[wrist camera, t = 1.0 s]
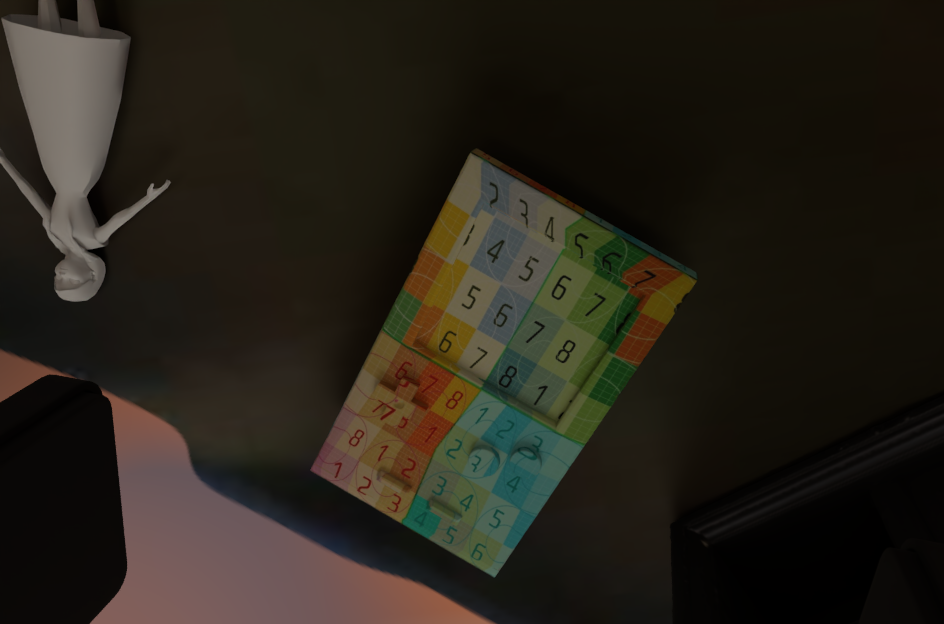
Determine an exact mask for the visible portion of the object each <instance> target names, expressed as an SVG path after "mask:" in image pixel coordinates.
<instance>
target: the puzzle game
mask: <svg viewBox="0 0 944 624" xmlns="http://www.w3.org/2000/svg"><path fill="white" fill-rule="evenodd" d="M697 280H698V277H697V273H696V272H695V271H693V270H691V269H689V268H687V267H686V266H684V265H682V264H680V263H679V262H677V261H675V260H673V259H672V258H670V257H668V256H666V255H664V254H663V253H661V252H659V251H657V250H656V249H654V248H652V247H650V246H649V245H647V244H645V243H643V242H641V241H640V240H638V239H636V238H634V237H633V236H631V235H629V234H627V233H625V232H624V231H622V230H620V229H618V228H617V227H615V226H613V225H611V224H610V223H608V222H606V221H604V220H602V219H601V218H599V217H597V216H595V215H594V214H592V213H590V212H588V211H587V210H585V209H583V208H581V207H579V206H578V205H576V204H574V203H572V202H571V201H569V200H567V199H565V198H563V197H562V196H560V195H558V194H556V193H555V192H553V191H551V190H549V189H548V188H546V187H544V186H542V185H540V184H539V183H537V182H535V181H533V180H532V179H530V178H528V177H526V176H525V175H523V174H521V173H519V172H517V171H516V170H514V169H512V168H510V167H509V166H507V165H505V164H503V163H501V162H500V161H498V160H496V159H494V158H493V157H491V156H489V155H487V154H486V153H484V152H482V151H480V150H478V149H477V148H475V149H474V150H472V151H471V152H470V154H469V156H468V158H467V160H466V162H465V164H464V166H463V168H462V170H461V172H460V174H459V176H458V178H457V180H456V182H455V184H454V186H453V188H452V190H451V192H450V194H449V196H448V198H447V200H446V202H445V204H444V206H443V208H442V210H441V212H440V214H439V216H438V218H437V220H436V222H435V223H434V225H433V227H432V229H431V231H430V233H429V235H428V237H427V239H426V241H425V243H424V245H423V247H422V249H421V251H420V253H419V255H418V257H417V259H416V261H415V263H414V265H413V267H412V269H411V271H410V273H409V275H408V277H407V279H406V281H405V283H404V285H403V287H402V289H401V291H400V293H399V295H398V297H397V299H396V301H395V303H394V305H393V307H392V309H391V311H390V313H389V315H388V317H387V319H386V321H385V323H384V325H383V327H382V329H381V331H380V333H379V335H378V337H377V339H376V341H375V343H374V345H373V347H372V349H371V351H370V353H369V354H368V356H367V358H366V360H365V362H364V364H363V366H362V368H361V370H360V372H359V374H358V376H357V378H356V380H355V382H354V384H353V386H352V388H351V390H350V392H349V394H348V396H347V398H346V400H345V402H344V404H343V406H342V408H341V410H340V412H339V414H338V416H337V418H336V420H335V422H334V424H333V426H332V428H331V430H330V432H329V434H328V436H327V438H326V440H325V442H324V444H323V446H322V448H321V450H320V452H319V454H318V456H317V458H316V460H315V462H314V464H313V466H312V468H311V470H310V471H312V472H313V473H315V474H317V475H318V476H320V477H322V478H324V479H325V480H327V481H329V482H330V483H332V484H334V485H336V486H337V487H339V488H341V489H342V490H344V491H346V492H348V493H349V494H351V495H353V496H354V497H356V498H358V499H360V500H361V501H363V502H365V503H366V504H368V505H370V506H372V507H373V508H375V509H377V510H379V511H380V512H382V513H384V514H385V515H387V516H389V517H391V518H392V519H394V520H396V521H397V522H399V523H401V524H403V525H404V526H406V527H408V528H409V529H411V530H413V531H415V532H416V533H418V534H420V535H421V536H423V537H425V538H427V539H428V540H430V541H432V542H434V543H435V544H437V545H439V546H440V547H442V548H444V549H446V550H447V551H449V552H451V553H452V554H454V555H456V556H458V557H459V558H461V559H463V560H464V561H466V562H468V563H470V564H471V565H473V566H475V567H476V568H478V569H480V570H482V571H483V572H485V573H487V574H489V575H490V576H492V577H494V578H495V576H496V575H497V573H498V572H499V570H500V569H501V567H502V566H503V564H504V563H505V562H506V560H507V559H508V557H509V556H510V554H511V553H512V551H513V550H514V548H515V547H516V545H517V544H518V542H519V541H520V540H521V538H522V537H523V535H524V534H525V532H526V531H527V529H528V528H529V526H530V525H531V523H532V522H533V520H534V519H535V518H536V516H537V515H538V513H539V512H540V510H541V509H542V507H543V506H544V504H545V503H546V501H547V500H548V498H549V497H550V496H551V494H552V493H553V491H554V490H555V488H556V487H557V485H558V484H559V482H560V481H561V479H562V478H563V476H564V475H565V474H566V472H567V471H568V469H569V468H570V466H571V465H572V463H573V462H574V460H575V459H576V457H577V456H578V454H579V453H580V452H581V450H582V449H583V447H584V446H585V444H586V443H587V441H588V440H589V438H590V437H591V435H592V434H593V432H594V431H595V430H596V428H597V427H598V425H599V424H600V422H601V421H602V419H603V418H604V416H605V415H606V413H607V412H608V411H609V409H610V408H611V406H612V405H613V403H614V402H615V400H616V399H617V397H618V396H619V394H620V393H621V391H622V390H623V389H624V387H625V386H626V384H627V383H628V381H629V380H630V378H631V377H632V375H633V374H634V372H635V371H636V369H637V368H638V367H639V365H640V364H641V362H642V361H643V359H644V358H645V356H646V355H647V353H648V352H649V350H650V349H651V347H652V346H653V345H654V343H655V342H656V340H657V339H658V337H659V336H660V334H661V333H662V331H663V330H664V328H665V327H666V325H667V324H668V323H669V321H670V320H671V318H672V317H673V315H674V314H675V312H676V311H677V309H678V308H679V306H680V305H681V303H682V302H683V301H684V299H685V298H686V296H687V295H688V293H689V292H690V290H691V289H692V287H693V286H694V284H695V283H696V281H697Z"/></svg>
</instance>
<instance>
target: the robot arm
mask: <svg viewBox="0 0 944 624" xmlns="http://www.w3.org/2000/svg"><path fill="white" fill-rule="evenodd" d="M126 571H127V557H126V548H125V536H124V527H123V516H122V506H121V496H120V486H119V476H118V466H117V455H116V445H115V435H114V425H113V415H112V407H111V403H110V401H109V399H108V398H107V397H105V396H103V395H102V391H101V389H100V388H99V386H98V385H97V384H95V383H93V382H90V381H85V380H80V379H75V378H69V377H64V376H59V375H47V376H44V377H42V378H40V379H38V380H37V381H35V382H34V383H32V384H30V385H28V386H27V387H25V388H23V389H22V390H20V391H19V392H17V393H15V394H13V395H12V396H10V397H9V398H7V399H5V400H4V401H2V402H0V624H90V622H91V621H92V620H93V619H94V618H95V617H96V616H97V615H98V614H99V613H100V612H101V611H102V610H103V608H104V607H105V606H106V605H107V604H108V603H109V602H110V601H111V600H112V598H114V596H115V595H116V594H117V593H118V591H119V590H120V588H121V586H122V584H123V582H124V579H125V576H126ZM858 624H944V544H942V543H937V542H931V541H926V540H921V539H916V538H909V539H906V541H905V542H904V543H903V544H902V546H901V548H900V549H896V548H891V547H889V548H886V549H885V551H884V552H883V553H882V556H881V558H880V560H879V563H878V566H877V569H876V572H875V575H874V578H873V581H872V584H871V587H870V590H869V593H868V596H867V599H866V602H865V605H864V608H863V611H862V614H861V617H860V620H859V623H858Z"/></svg>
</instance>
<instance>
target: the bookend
mask: <svg viewBox="0 0 944 624" xmlns="http://www.w3.org/2000/svg"><path fill="white" fill-rule="evenodd" d="M670 528H671V535H670V538H671V566H672V585H673V586H672V594H673V597H672V600H673V609H672V612H673V624H858V623H859V620H860V617H861V614H862V611H863V608H864V605H865V602H866V599H867V596H868V593H869V590H870V587H871V584H872V581H873V578H874V575H875V572H876V569H877V566H878V563H879V560H880V558H881V556H882V553H883V552H884V551H885V549H886V548H889V547H891V548H896V549H900V548H901V546H902V544H903V543H904V542H905V541H906V539H909V538H916V539H921V540H926V541H931V542H937V543H942V544H944V395H943V396H940V397H938V398H936V399H934V400H932V401H930V402H927V403H925V404H923V405H922V406H919V407H917V408H915V409H913V410H911V411H908V412H906V413H904V414H902V415H900V416H898V417H896V418H894V419H892V420H890V421H887V422H885V423H883V424H880V425H877V426H874V427H872V428H870V429H869V430H868V431H866V432H864V433H861V434H860V435H857V436H854V437H852V438H850V439H848V440H846V441H844V442H842V443H839V444H837V445H836V446H833V447H832V448H829V449H827V450H825V451H823V452H820V453H818V454H816V455H814V456H812V457H810V458H808V459H806V460H804V461H802V462H800V463H798V464H796V465H793V466H791V467H789V468H787V469H785V470H782V471H780V472H778V473H776V474H774V475H772V476H770V477H767V478H765V479H763V480H761V481H759V482H757V483H755V484H753V485H751V486H748V487H746V488H744V489H742V490H739V491H737V492H736V493H734V494H731V495H729V496H727V497H725V498H723V499H721V500H719V501H716V502H714V503H712V504H710V505H708V506H706V507H704V508H702V509H699V510H697V511H695V512H693V513H691V514H689V515H688V516H685V517H683V518H681V519H679V520H677V521H675V522H673V523H672V524H671V525H670Z"/></svg>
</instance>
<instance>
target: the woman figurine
mask: <svg viewBox="0 0 944 624" xmlns="http://www.w3.org/2000/svg"><path fill="white" fill-rule="evenodd" d="M77 7H78V22H76V21H72V20H68V19H63V18H60V15H59V11H58V6H57V2H56V0H39V3H38V15H19V14H10V15H7V16H5V17H2V18H1V19H2V23H3V27H4V31H5V34H6V38H7V42H8V46H9V50H10V54H11V58H12V62H13V66H14V70H15V73H16V77H17V81H18V85H19V88H20V92H21V95H22V98H23V101H24V105H25V108H26V111H27V114H28V118H29V121H30V124H31V127H32V131H33V134H34V138H35V142H36V145H37V149H38V153H39V156H40V159H41V163H42V166H43V169H44V171H45V173H46V175H47V177H48V179H49V181H50V183H51V184H52V186H53V187H54V189H55V191H56V193H57V194H56V197H55V200H54V203H53V206H52V208H51V207H50V206H49V205H48V203H47V202H46V201H45V200H44V199H43V198H42V197H41V195H40V194H39V193H38V192H37V191H36V190H35V189H34V188H33V187H32V186H31V185H30V184H29V183H28V182H27V180H26V179H25V178H23V177H22V176H21V174H20V173H19V172H18V171H17V170H16V168H15V167H14V166H13V165H12V164H11V162H10V161H9V160H8V159H7V158H6V157H5V154H4V152H3V151H2V149H1V148H0V163H1V164H2V165H3V167H4V168H5V169H6V171H7V172H8V173H9V174H10V176H11V177H12V178H13V180H14V181H15V182H16V183H17V186H18V187H19V188H20V190H21V191H22V192H23V194H24V195H25V196H26V197H27V199H28V200H29V201H30V202H31V204H32V205H33V206H34V207H35V209H36V210H37V211H38V212H39V213H40V215H41V216H42V217H43V226H44V227H45V228H46V230H47V234H48V237H49V238H50V240H51V241H52V242H53V243H54V244H55V246H56V247H57V248H59V249H60V251H61V252H62V253H64V254H65V255H66V256H65V260H62V261H61V262H60V263H59V264H58V265H57V266H56V268H55V273H56V276H55V282H54V288H55V283H56V288H55V290H56V289H57V290H56V292H57V294H58V295H59V297H61V298H62V299H64V300H69V301H76V302H77V301H87V300H88V299H90V298H91V297H93V296H94V295H95V294H96V293H97V291H98V289H99V288H100V286H101V284H102V282H103V280H104V276H105V272H106V270H105V263H104V262H103V261H102V259H101V258H100V257H98V256H97V255H95V254H93V253H90V252H88V251H87V250H90V249H95V248H99V247H104V246H107V245H108V244H109V243H108V238H109V236H110V235H111V234H112V233H113V232H114V231H115V230H116V229H118V228H119V227H120V226H121V225H122V224H124V223H125V222H126V221H128V220H129V219H130V218H132V217H133V216H134V215H135V214H136V213H137V212H138V211H139V210H141V209H142V208H143V207H144V206H146V205H147V204H148V203H149V202H151V201H152V200H153V199H155V198H156V197H157V196H158V195H159V194H160V193H162V192H163V191H164V190H165V189H167V188H168V186H169V185H170V183H171V182H170V181H168V180H166V183H165V184H164V185H163V186H162V187H161V188H156V189H153V186H154V184H151V185H150V187H149V188H148V190H147V196H145V197H144V198H142V199H141V200H140V201H138V202H137V203H136V204H134V205H133V206H131V207H129V208H127V209H125V210H123V211H121V212H119V213H117V214H115V215H114V216H113V217H112V218H111V219H110V220H109V221H108V222H107V223H106V224H104V225H103V226H101V227H100V226H99V224H98V222H97V219H96V217H95V216H94V214H93V213H92V210H91V208H90V205H89V202H88V200H87V195H88V193H89V191H90V190H91V188H92V187H93V186H94V185H95V184H96V182H97V181H98V180H99V178H100V175H101V173H102V171H103V168H104V166H105V162H106V158H107V154H108V150H109V146H110V142H111V138H112V133H113V129H114V125H115V121H116V117H117V113H118V109H119V105H120V101H121V96H122V90H123V83H124V77H125V71H126V65H127V59H128V53H129V47H130V40H131V37H130V36H128V35H126V34H124V33H123V32H120V31H116V30H111V29H107V28H102V27H100V26H99V21H98V17H97V12H96V8H95V4H94V0H77ZM54 235H55V236H56V237H57V238H58V239H59V240H58V239H57V238H56V237H55V236H54Z"/></svg>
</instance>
